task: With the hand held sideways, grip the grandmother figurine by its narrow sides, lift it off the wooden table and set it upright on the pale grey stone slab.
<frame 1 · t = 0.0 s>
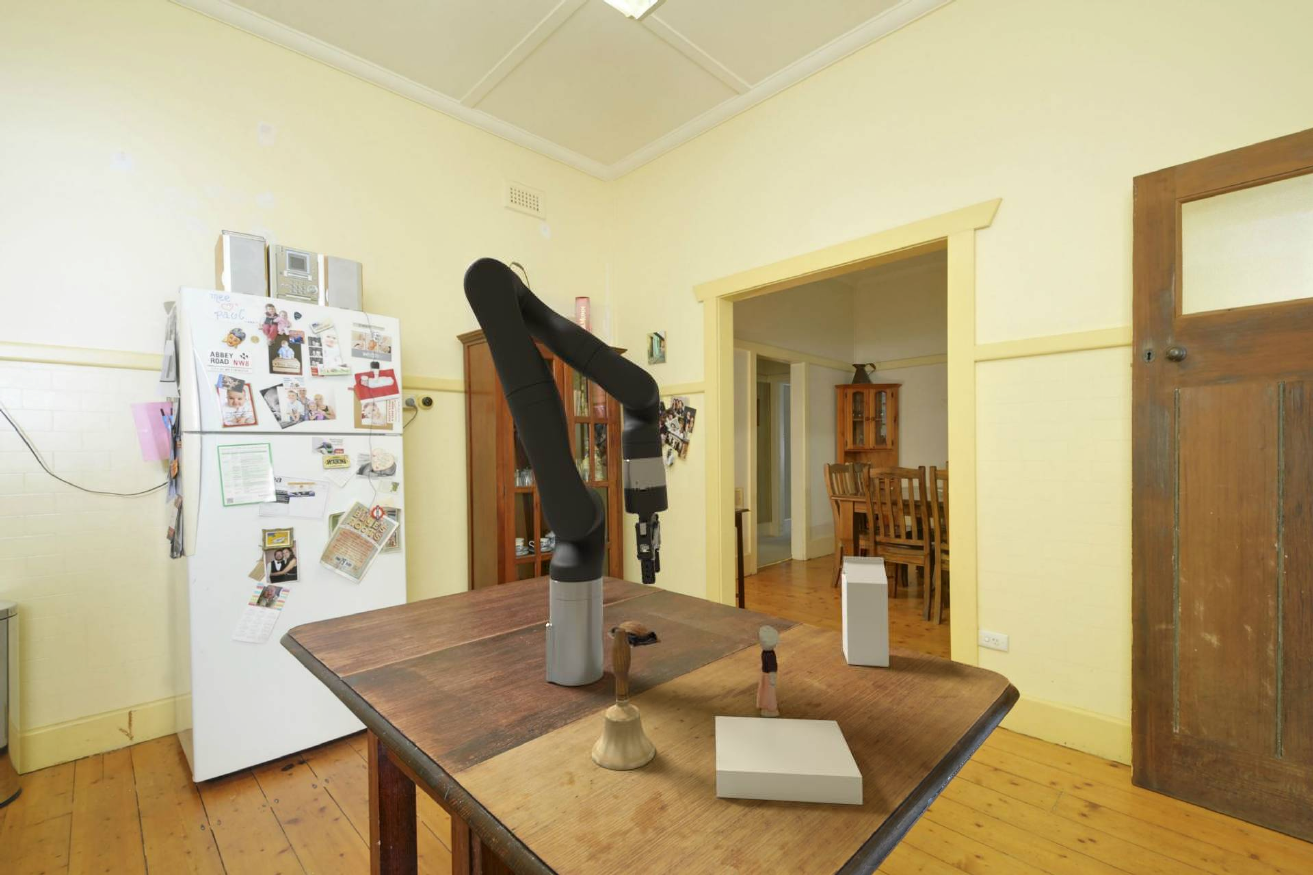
hand: (651, 577, 97), 17 cm above the table, tool pointing down, fingers open, 8 cm apart
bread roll: (632, 640, 118), on the table
grandmother figurine: (769, 713, 84), on the table
hand bell: (623, 754, 73), on the table
milk carton: (865, 660, 105), on the table
stone slab: (781, 768, 69), on the table
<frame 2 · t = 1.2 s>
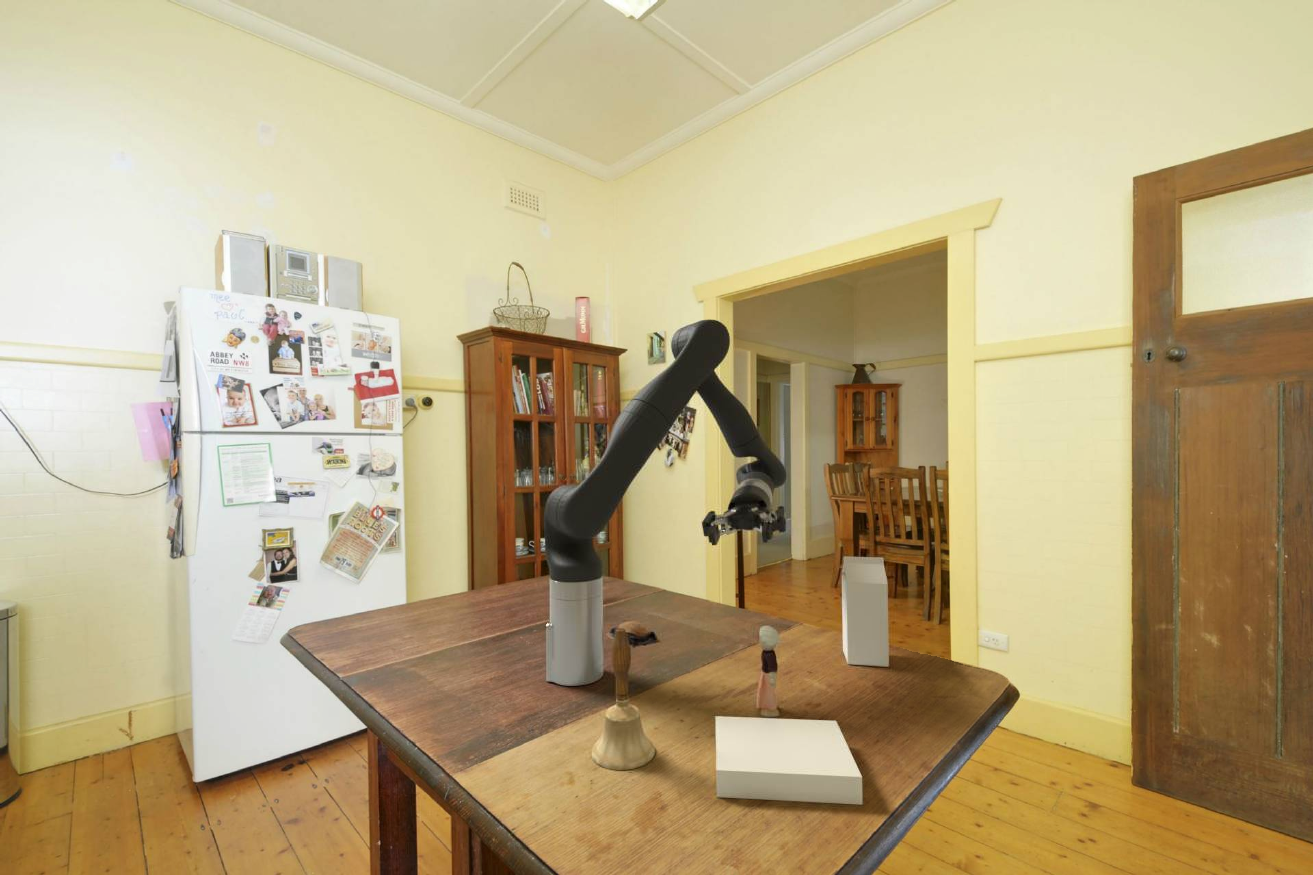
hand: (738, 538, 92), 25 cm above the table, tool tilted 75°, fingers open, 8 cm apart
nothing on the table moved.
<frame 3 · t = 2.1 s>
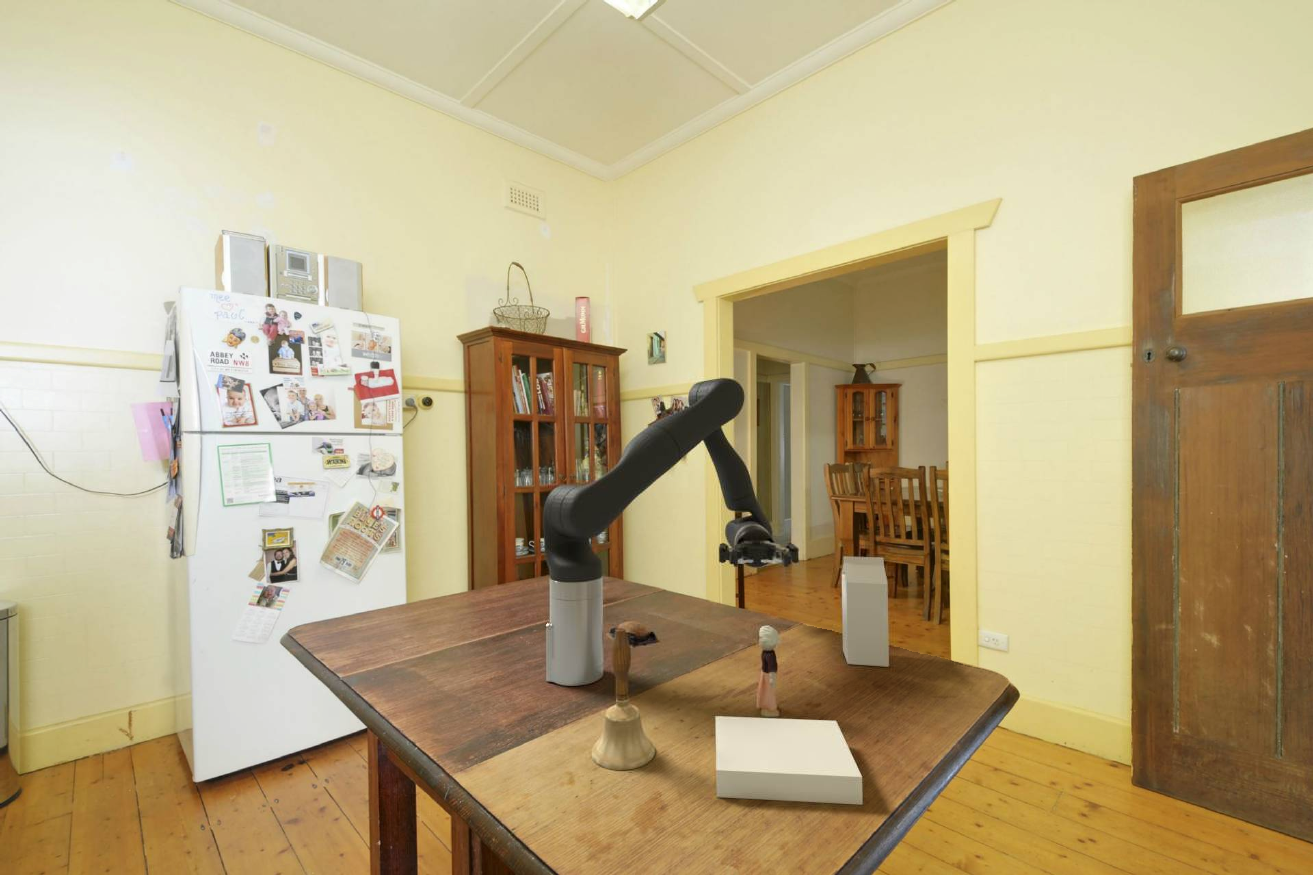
hand: (761, 561, 97), 20 cm above the table, tool horizontal, fingers open, 8 cm apart
nothing on the table moved.
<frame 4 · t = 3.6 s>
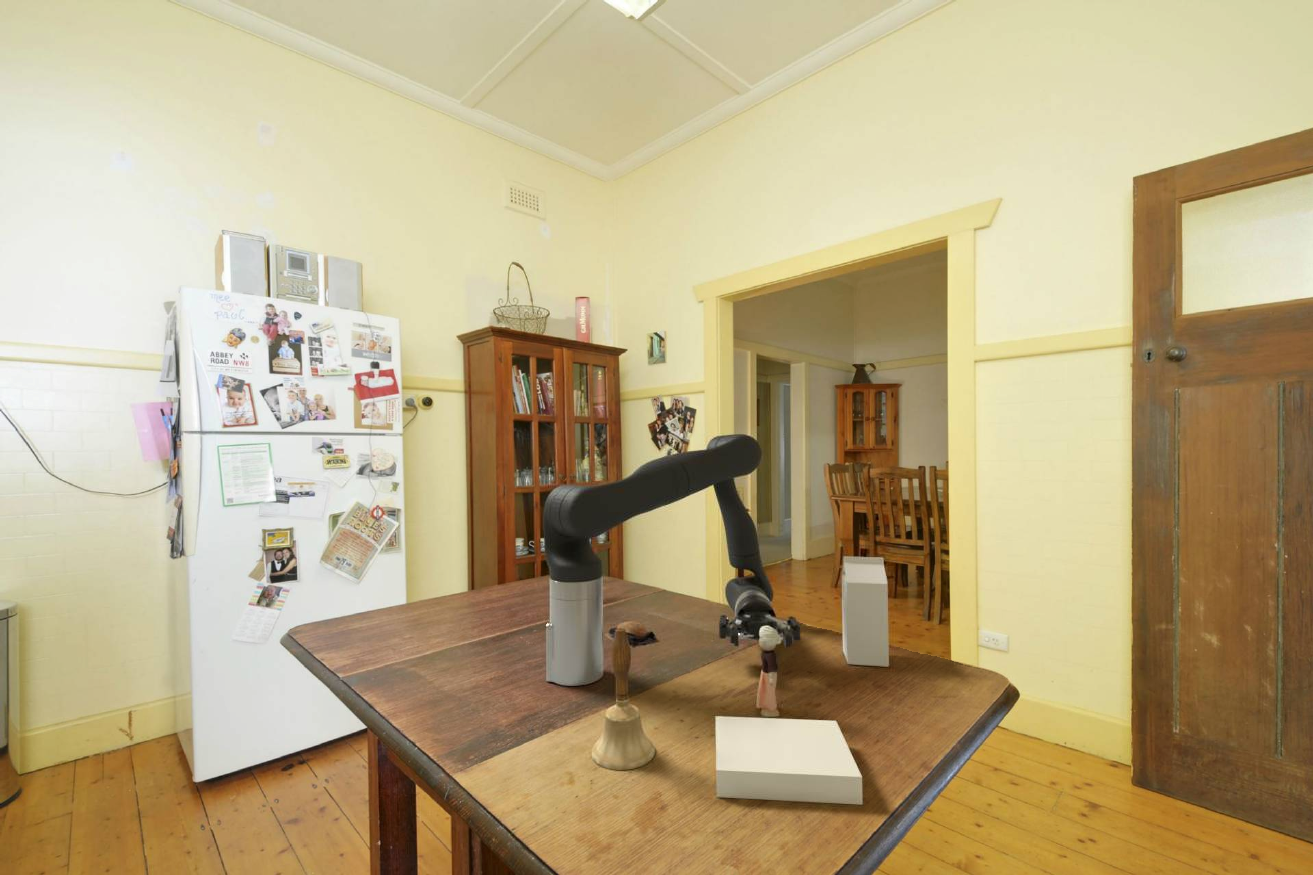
hand: (762, 641, 95), 7 cm above the table, tool horizontal, fingers open, 8 cm apart
nothing on the table moved.
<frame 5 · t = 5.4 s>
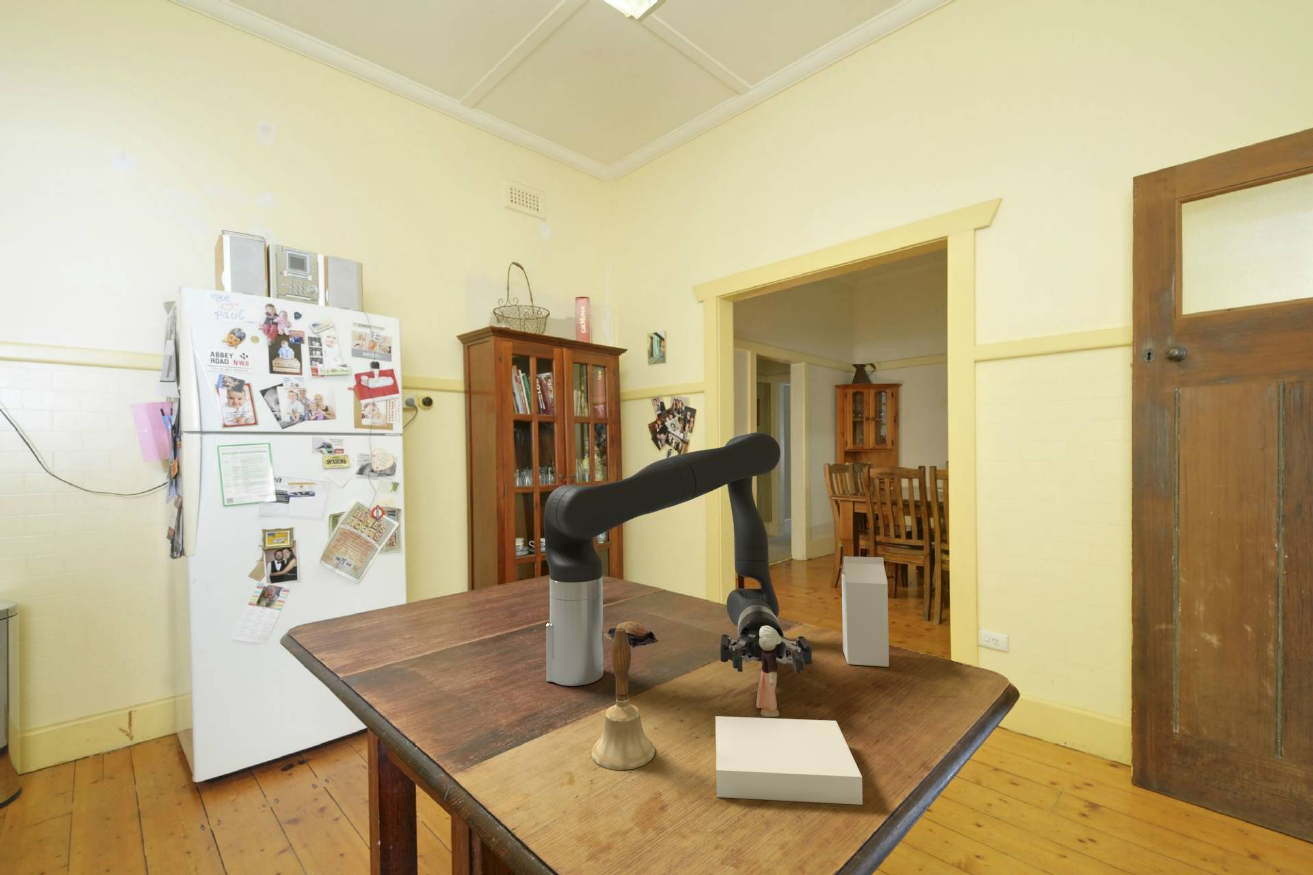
hand: (769, 666, 84), 7 cm above the table, tool horizontal, fingers open, 8 cm apart
nothing on the table moved.
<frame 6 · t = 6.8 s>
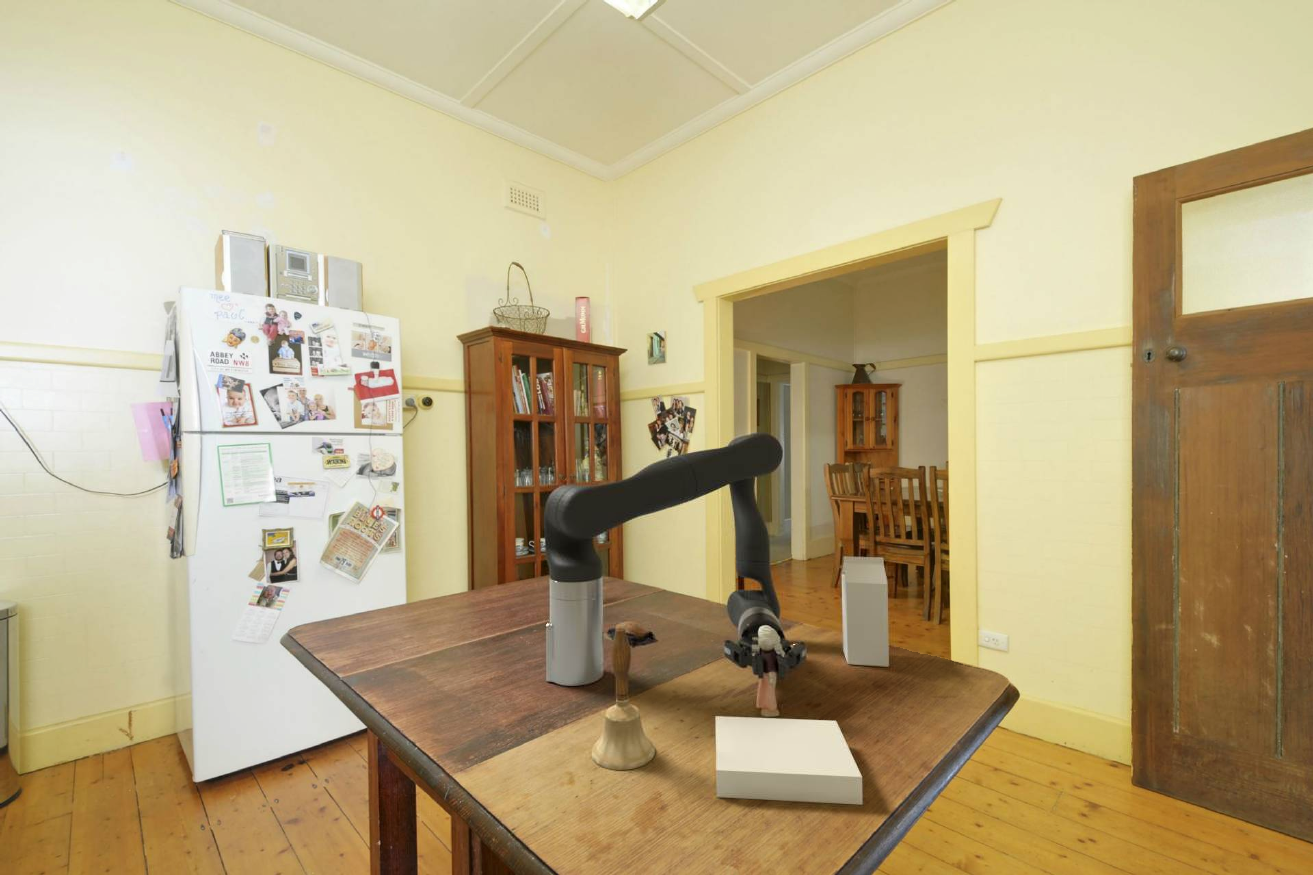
hand: (771, 672, 81), 7 cm above the table, tool horizontal, fingers closed on grandmother figurine, 2 cm apart
grandmother figurine: (769, 713, 84), on the table, touching gripper
everything else where it was.
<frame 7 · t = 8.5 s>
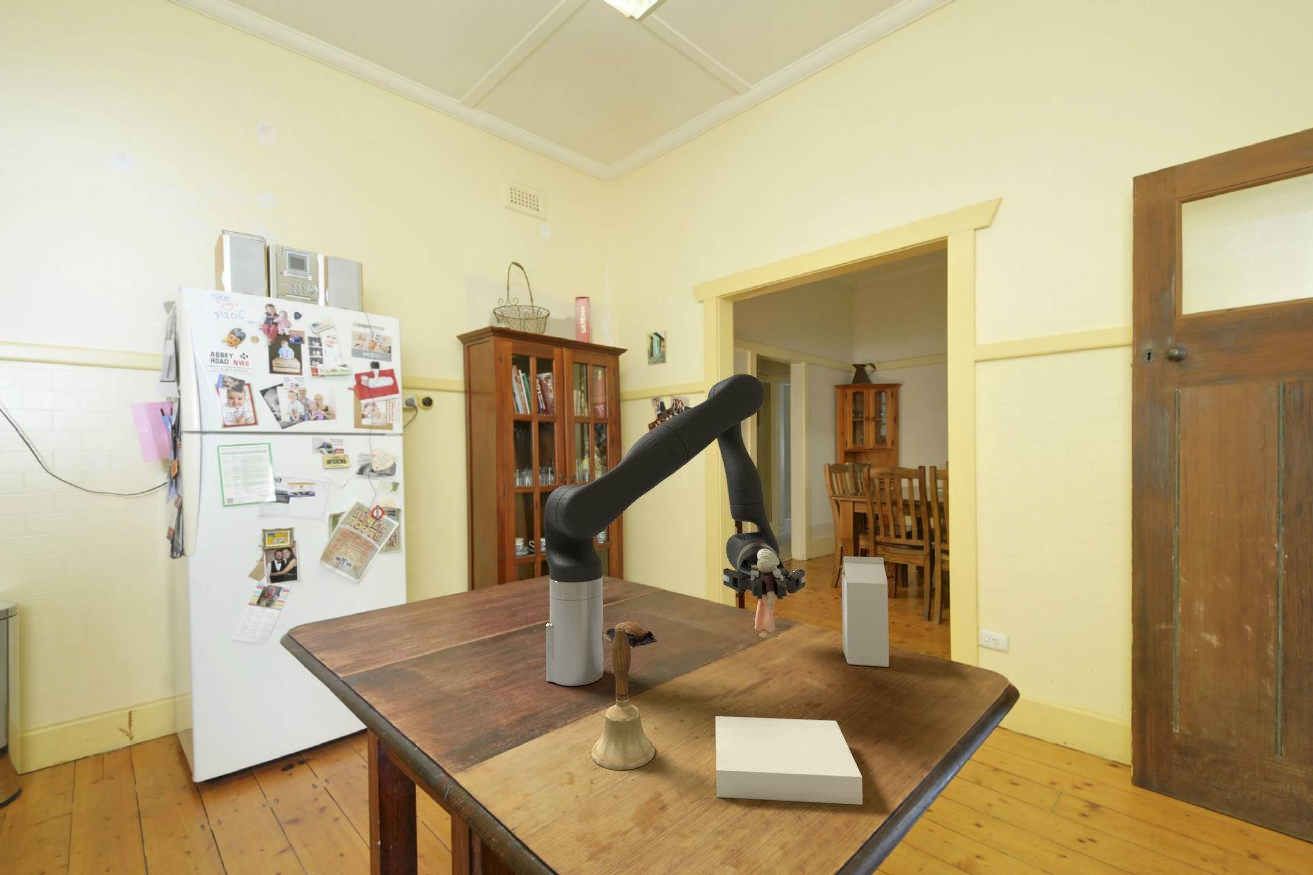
hand: (770, 592, 81), 19 cm above the table, tool horizontal, fingers closed on grandmother figurine, 2 cm apart
grandmother figurine: (767, 635, 84), point 11 cm above the table, touching gripper
everything else where it was.
when the fingers open (11 cm above the table, at t = 11.5 s): grandmother figurine drops 1 cm, resting on stone slab.
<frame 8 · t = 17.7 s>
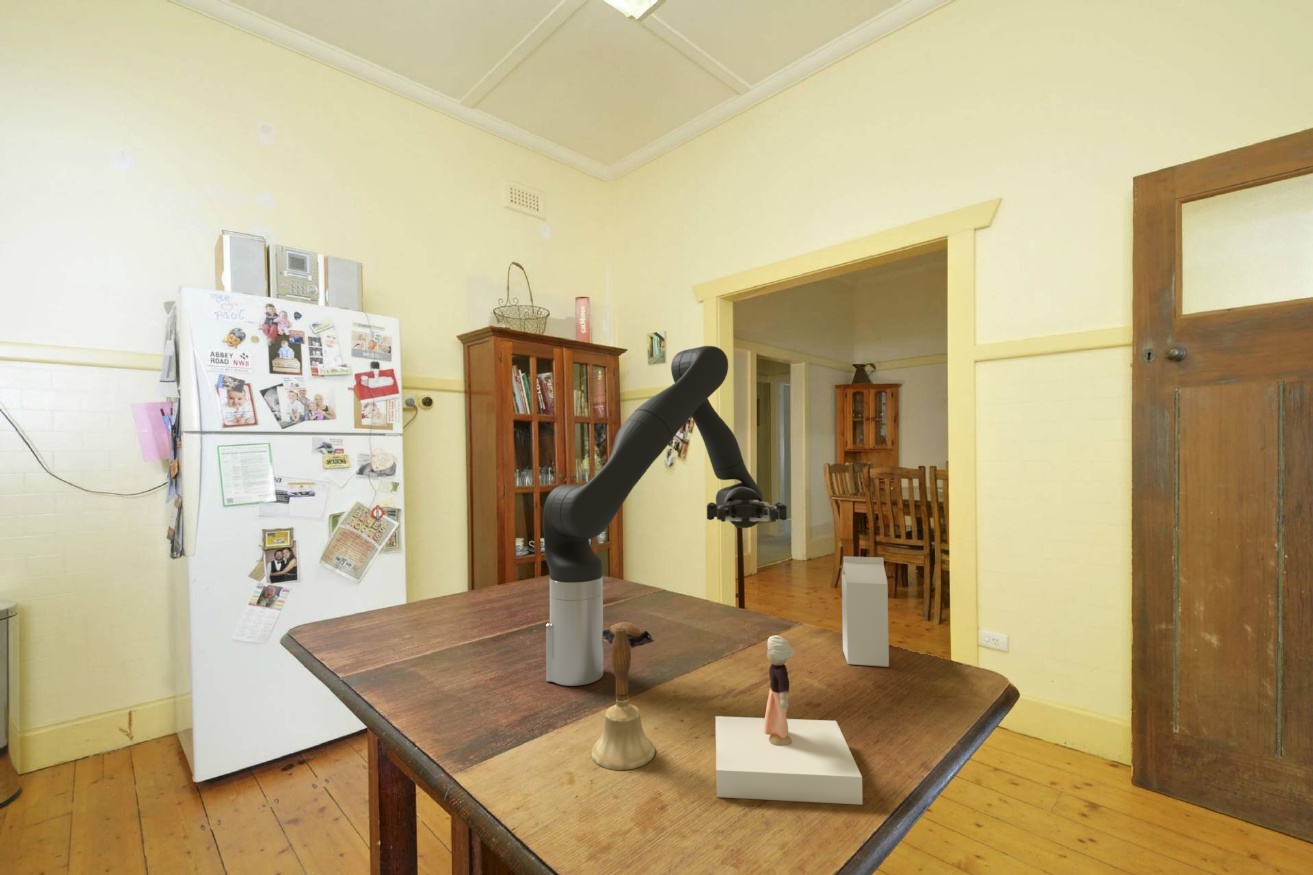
hand: (748, 515, 96), 28 cm above the table, tool horizontal, fingers open, 8 cm apart
grandmother figurine: (779, 740, 70), point 3 cm above the table, touching stone slab
at the end: grandmother figurine inside the target area on the stone slab (1.1 cm from its centre), point 2.8 cm above the stone slab's base; grandmother figurine tilted 0°; the gripper is holding nothing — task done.
